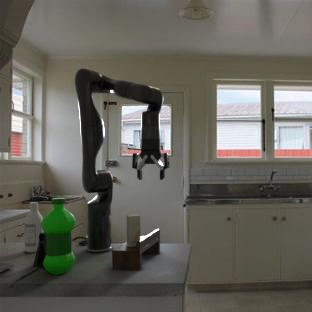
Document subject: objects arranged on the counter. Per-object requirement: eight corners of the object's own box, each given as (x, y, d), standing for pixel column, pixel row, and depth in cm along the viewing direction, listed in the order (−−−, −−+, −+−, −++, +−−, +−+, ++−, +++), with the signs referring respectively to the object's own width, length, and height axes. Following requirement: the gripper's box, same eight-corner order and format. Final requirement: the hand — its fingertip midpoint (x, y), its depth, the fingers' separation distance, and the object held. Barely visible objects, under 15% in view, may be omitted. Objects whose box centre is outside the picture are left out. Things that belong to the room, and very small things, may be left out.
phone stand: (33, 265, 131) (32, 232, 131) (47, 261, 137) (47, 229, 137) (51, 268, 128) (50, 234, 128) (65, 263, 133) (64, 231, 133)
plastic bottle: (35, 275, 121) (34, 200, 120) (58, 266, 131) (57, 196, 131) (60, 278, 118) (59, 200, 118) (82, 268, 128) (81, 196, 128)
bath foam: (39, 247, 157) (38, 201, 157) (47, 250, 153) (46, 202, 152) (22, 251, 152) (21, 202, 151) (29, 253, 147) (28, 204, 147)
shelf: (112, 269, 127) (111, 241, 127) (136, 252, 149) (136, 228, 149) (139, 270, 126) (139, 242, 126) (160, 252, 148) (160, 229, 147)
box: (140, 246, 132) (140, 215, 131) (128, 247, 130) (128, 216, 130) (138, 243, 136) (138, 213, 136) (126, 244, 135) (126, 214, 135)
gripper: (171, 138, 145) (171, 179, 145) (136, 138, 147) (137, 179, 147) (165, 137, 137) (165, 180, 137) (129, 137, 139) (129, 180, 139)
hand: (150, 179), depth 142 cm, fingers open, 8 cm apart
